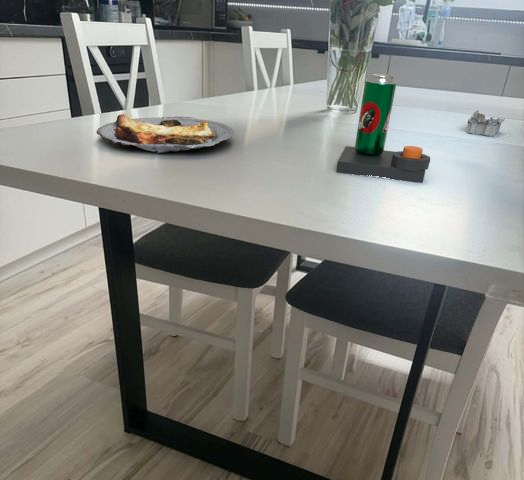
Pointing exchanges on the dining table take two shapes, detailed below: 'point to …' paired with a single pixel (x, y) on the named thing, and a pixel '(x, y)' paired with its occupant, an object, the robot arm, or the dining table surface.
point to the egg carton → (483, 125)
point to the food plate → (165, 133)
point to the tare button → (412, 152)
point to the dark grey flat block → (383, 165)
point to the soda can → (375, 114)
